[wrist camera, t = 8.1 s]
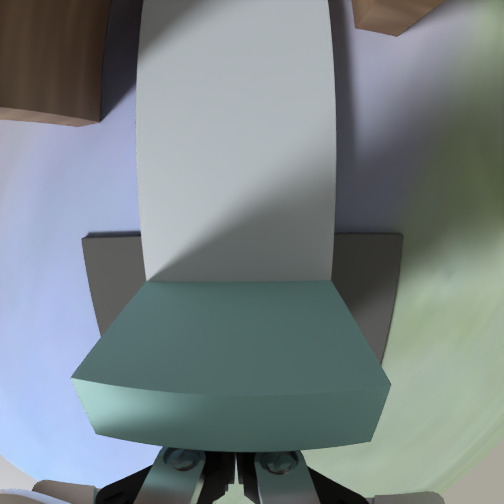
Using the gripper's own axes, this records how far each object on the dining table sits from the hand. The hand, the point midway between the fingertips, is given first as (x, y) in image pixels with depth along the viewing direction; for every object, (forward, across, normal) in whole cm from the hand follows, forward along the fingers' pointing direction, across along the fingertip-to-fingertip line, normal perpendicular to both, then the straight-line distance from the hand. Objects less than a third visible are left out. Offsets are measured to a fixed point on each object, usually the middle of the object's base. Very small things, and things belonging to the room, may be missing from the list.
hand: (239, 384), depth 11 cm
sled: (+3, 0, -13) cm, 13 cm away
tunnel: (+3, 0, -15) cm, 15 cm away
